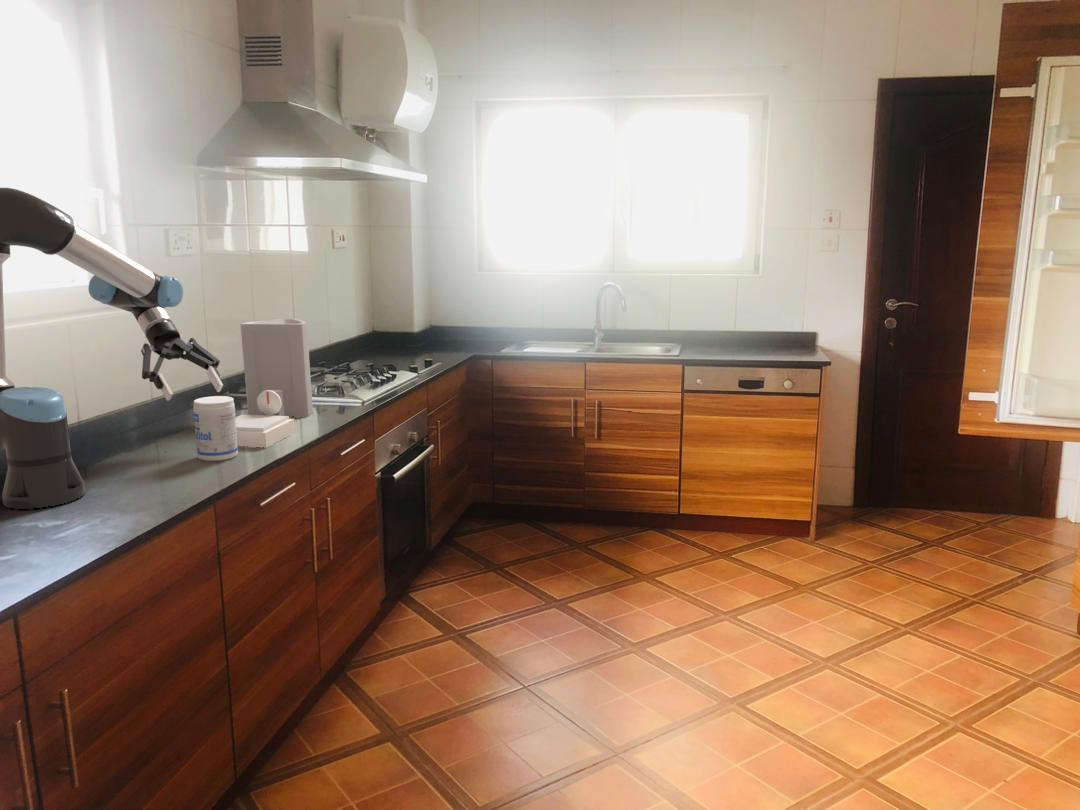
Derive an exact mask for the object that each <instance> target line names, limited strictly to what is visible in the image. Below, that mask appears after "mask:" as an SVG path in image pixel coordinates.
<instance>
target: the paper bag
mask: <svg viewBox="0 0 1080 810" xmlns="http://www.w3.org/2000/svg"><path fill="white" fill-rule="evenodd" d="M239 325H240V335H241V336H240V337H241V347H242V357H243V369H244V383H245V394H246V403H247V407H246V408H247V415H263V413H262V412H261V411H260V410H259V408H258V405H257V398H258V396H259V394H260V393H261V391H264V390H283V402H284V415H285V416H291V417H290V418H308V417H310V416H312V415H314V410H313V409H314V408H313V394H312V393H313V392H312V379H311V366H310V363H311V362H310V350H309V338H308V335H309V334H308V322H306V321H303V320H301V319H297V318H279V319H270V320H269V319H268V320H258V321H257V320H256V321H255V320H254V321H246V322H243V323H240V324H239ZM292 416H294V417H292Z"/></svg>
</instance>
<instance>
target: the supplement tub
mask: <svg viewBox="0 0 1080 810" xmlns="http://www.w3.org/2000/svg"><path fill="white" fill-rule="evenodd" d="M234 401H235V400H234V398H233V397H231V396H227V395H226V396H225V395H213V396H212V395H211V396H204V397H199V398H195V400H193V408H192V409H193V421H194V431H195V432H194V433H195V443H196V444H195V445H196V456H197V458H198V459H199V460H201V461H205V462H218V461H226V460H231V459H232V458H235V457H236V456H238V453H239V447H238V446H237V432H236V417H237V416H236V408H235V407H236V406H235V402H234Z"/></svg>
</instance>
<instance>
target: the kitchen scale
mask: <svg viewBox="0 0 1080 810" xmlns="http://www.w3.org/2000/svg"><path fill="white" fill-rule="evenodd" d="M257 405H258V408H259V410H260V411H261V412H262V413H263V415H248V414H240V415H238V416H235V417H236V432H237V446H245V447H244V448H247V447H246V446H249V447H248V448H256V447H262V449H267V448H269V447H271V446H273V445H275V444H277V443H279V442H281V441H283V440H285V439H286V437H287V438H288V436H289V437H290V436H292V435H294V434H296V425H295V418H290V417H289V416H285V415H284V402H283V390H264V391H261V393H260V394H259V396H258V398H257ZM284 438H285V439H284ZM282 439H283V440H282ZM280 440H281V441H280ZM278 441H279V442H278ZM276 442H277V443H276ZM274 443H275V444H274ZM263 447H264V448H263Z"/></svg>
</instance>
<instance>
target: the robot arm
mask: <svg viewBox="0 0 1080 810" xmlns="http://www.w3.org/2000/svg"><path fill="white" fill-rule="evenodd" d="M11 246H16V247H17V246H18V247H25V248H31V249H34V250H37V251H40V252H42V253H43V254H46V255H47V256H48V255H49V256H53V255H57V256H58V257H60V258H62V259H64V260H66V261H68V262H70V263H72V264H74V265H75V266H77V267H79V268H81V269H83V270H84V271H86V272H88V273H89V274H92V275H93V276H92V277H91V278H90V280H89V283H88V293H89V295H90V297H91V299H94V301H98V302H99V303H102V304H103V305H108V306H111V307H115V308H117V309H120V310H124V311H125V312H129V313H131V314H132V315H133V316H134V318H135V320H136V322H137V323H138V325H139V327H140V328H141V331H142V332H143V334H144V335H145V338H146V340H147V341H148V343H149V344H148V343H145V342H144V343H143V345H142V347H141V350H140V352H141V354H142V370H141V378H142V379H143V380H148V381H149V382H150V383H153V384H154V386H155V387H156V389H157V390H160V391H161V392H162V395H163V396H164V398H165V400H166V401H167V402H168V401H171V399H172V398H173V395H174V393H173V391H172V389H171V387H170V386H169V384H168V382H167V381H166V379H165V377H164V375H163V373H159V372H160V369H161V367H162V364H163V363H164V360H168V361H170V360H174V359H178V360H179V359H183V360H184V361H185V360H186V361H188V362H191V363H193V364H195V365H196V366H199V367H200V368H202V369H204V370H206V373H205V374H206V375H207V377H208V379H209V380H210V382H211V384H212V386H213V387H214V389H215V391H216V392H217V393H220V392H221V391H222V389H223V387H224V384H223V382H222V381H221V379H220V377H221V374H220V372H219V371H218V369H217V368H218V367H219V364H220V362H221V360H219V359H218V358H217V357H216V356H215V355H213V354H212V353H211V352H209V351H208V350H207V349H205V347H202V345H200V344H199V343H198V342H197V340H196V339H195V338H193V337H190V338H189V340H183V339H182V338H181V336H180V332H179V330H178V329H177V327H176V325H175V324H174V322H173V320H172V318H171V317H170V315H169V314H168V313H169V312H167V310H166V308H173V307H174V308H175V307H177V306H178V305H180V303H181V302H182V300H183V296H184V288H183V285H182V283H181V282H180V280H179V279H177V278H176V277H173V276H167V275H164V276H162V275H159V274H157V273H155V272H154V271H152V270H150V269H149V268H147V267H146V266H143V265H142V264H140V263H139V262H137V261H136V260H133V258H130V257H129V256H127V255H125V254H124V253H122V252H121V251H119V250H118V249H116V248H114V247H112V246H110V245H109V244H108V243H106V242H104V241H103V240H101V239H99V238H98V237H96V236H94V234H91V233H89V232H88V231H86V230H85V229H83V228H82V227H79V226H78V225H77V224H76V222H75V219H74V218H73V217H72V216H71V215H69V214H68V213H66V212H64V211H63V210H61V209H60V208H58V207H56V206H55V205H52V204H51V203H49V202H47V201H45V200H43V199H41V198H39V197H37V196H35V195H33V194H30V193H29V192H25V191H23V190H19V189H16V188H11V187H0V450H5V456H6V460H7V472H6V476H5V480H4V484H3V485H4V486H3V490H2V502H3V506H4V505H5V506H7V507H9V508H8V509H10V508H15V509H14V510H18V509H28V510H34V509H33V508H40V509H43V508H42V507H47V508H49V507H48V506H53V507H56V506H55V505H58V506H60V505H59V504H62V505H65V504H68V503H67V502H69V503H71V502H70V501H72V502H74V501H76V499H77V498H79V499H81V498H82V497H84V496H83V495H84V494H85V495H86V493H87V492H86V485H85V481H84V479H83V477H82V476H81V474H80V471H79V470H78V468H77V466H76V464H75V462H74V460H73V457H72V449H71V443H70V442H71V441H70V440H71V439H70V433H69V423H68V415H67V409H66V407H65V401H64V398H63V395H62V394H61V393H60V392H59V391H57V390H54V389H53V388H52V389H51V388H48V387H47V388H46V387H42V386H40V387H39V386H34V387H31V386H30V387H29V386H19V387H15V383H14V381H12V380H10V379H9V378H8V376H7V372H6V371H7V366H6V364H7V363H6V342H5V341H6V340H5V336H6V335H5V334H6V333H5V309H4V308H5V307H4V284H3V283H4V278H3V264H4V262H6V261H7V260H8V259H9V258H11ZM152 352H154V353H155V354H157V355H158V356H159V357H158V358H157V361H156V363H155V365H154V367H153V369H152V371H151V355H152ZM184 352H185V354H184ZM81 496H82V497H81ZM80 497H81V498H80ZM73 500H74V501H73ZM77 500H78V499H77ZM64 503H65V504H64ZM5 506H4V507H5ZM7 507H6V508H7Z"/></svg>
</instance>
